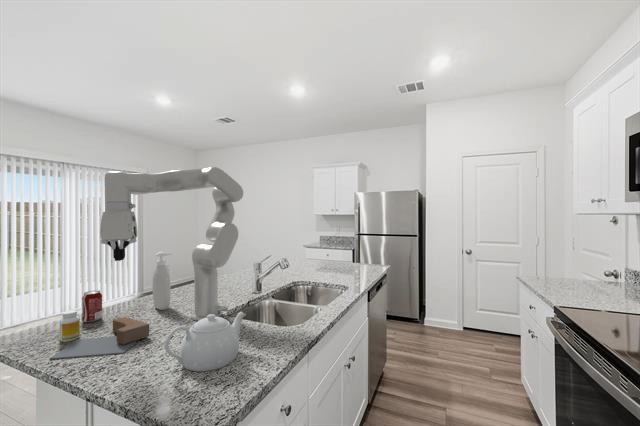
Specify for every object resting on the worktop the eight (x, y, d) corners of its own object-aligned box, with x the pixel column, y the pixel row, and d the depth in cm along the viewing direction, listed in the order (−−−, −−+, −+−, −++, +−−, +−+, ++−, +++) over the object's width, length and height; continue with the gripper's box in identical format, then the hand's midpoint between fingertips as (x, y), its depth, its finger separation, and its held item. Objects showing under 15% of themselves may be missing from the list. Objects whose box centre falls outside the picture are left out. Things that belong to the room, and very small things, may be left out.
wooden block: (122, 331, 98) (98, 323, 108) (122, 345, 98) (98, 335, 107) (149, 323, 106) (125, 316, 115) (149, 336, 106) (125, 327, 115)
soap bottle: (178, 308, 138) (177, 251, 138) (159, 313, 132) (159, 253, 132) (166, 302, 147) (165, 249, 147) (148, 306, 141) (148, 251, 141)
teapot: (194, 345, 99) (193, 305, 99) (247, 345, 99) (247, 305, 99) (162, 376, 81) (162, 327, 81) (228, 376, 80) (227, 327, 80)
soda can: (106, 318, 126) (105, 290, 126) (89, 324, 119) (89, 294, 119) (95, 316, 128) (95, 289, 128) (78, 322, 122) (77, 293, 122)
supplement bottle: (82, 337, 107) (82, 310, 107) (65, 343, 102) (64, 315, 102) (74, 334, 109) (74, 308, 109) (57, 340, 104) (56, 313, 104)
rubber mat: (142, 335, 108) (142, 334, 108) (124, 353, 94) (124, 352, 94) (79, 340, 104) (79, 339, 104) (49, 359, 90) (49, 358, 90)
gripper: (146, 207, 106) (147, 257, 106) (100, 207, 103) (101, 259, 104) (137, 207, 99) (138, 261, 99) (87, 207, 96) (88, 263, 96)
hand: (119, 260), depth 101 cm, fingers closed
